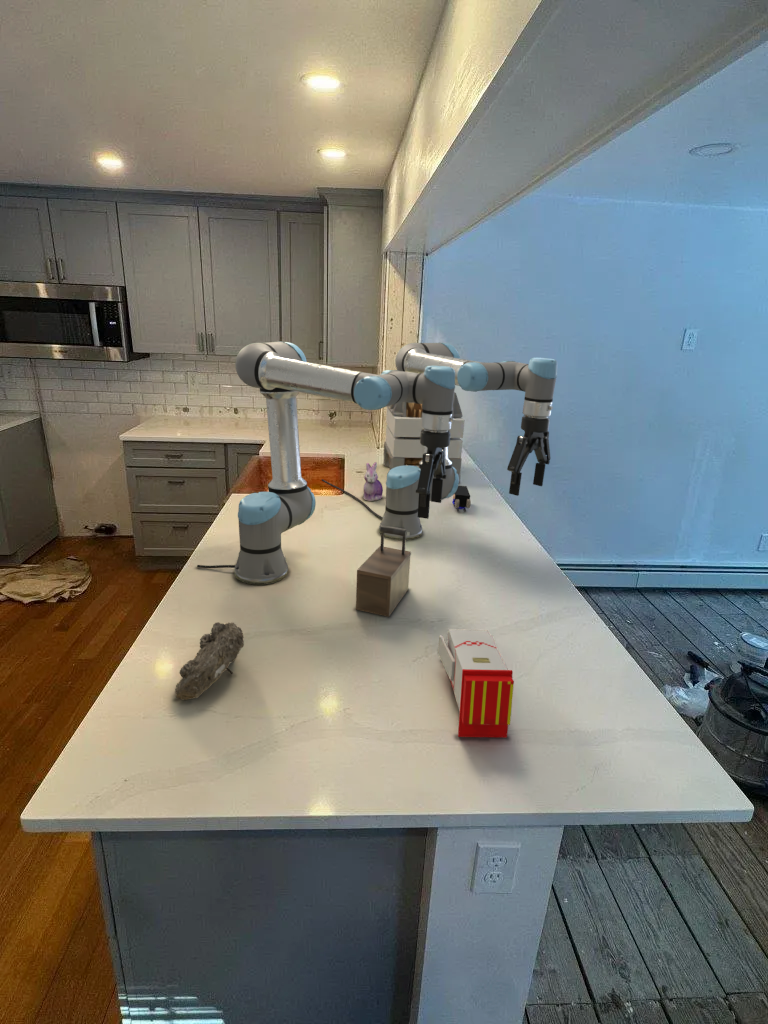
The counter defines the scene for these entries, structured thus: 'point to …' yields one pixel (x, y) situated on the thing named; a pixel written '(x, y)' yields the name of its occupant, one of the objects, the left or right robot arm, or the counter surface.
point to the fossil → (210, 660)
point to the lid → (386, 557)
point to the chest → (382, 591)
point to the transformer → (417, 435)
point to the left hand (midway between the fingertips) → (429, 509)
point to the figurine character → (461, 498)
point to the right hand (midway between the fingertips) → (526, 489)
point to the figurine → (372, 484)
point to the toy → (478, 682)
